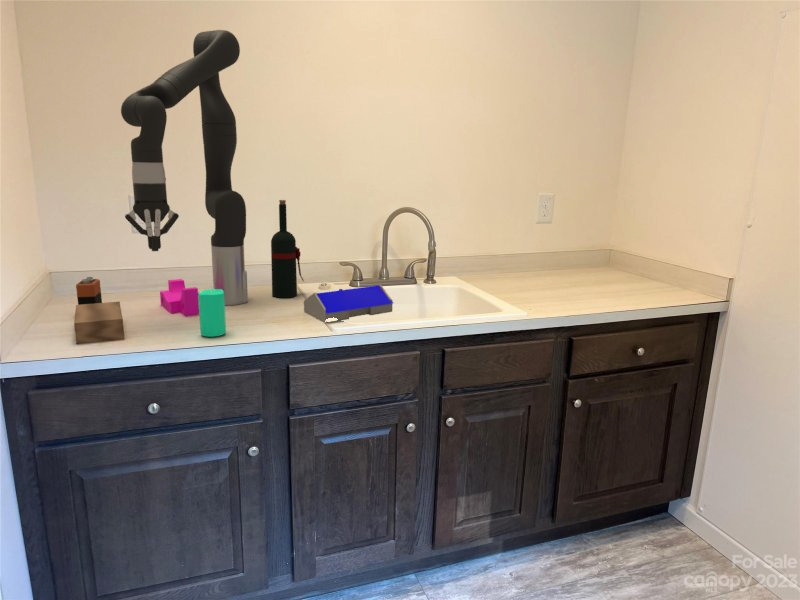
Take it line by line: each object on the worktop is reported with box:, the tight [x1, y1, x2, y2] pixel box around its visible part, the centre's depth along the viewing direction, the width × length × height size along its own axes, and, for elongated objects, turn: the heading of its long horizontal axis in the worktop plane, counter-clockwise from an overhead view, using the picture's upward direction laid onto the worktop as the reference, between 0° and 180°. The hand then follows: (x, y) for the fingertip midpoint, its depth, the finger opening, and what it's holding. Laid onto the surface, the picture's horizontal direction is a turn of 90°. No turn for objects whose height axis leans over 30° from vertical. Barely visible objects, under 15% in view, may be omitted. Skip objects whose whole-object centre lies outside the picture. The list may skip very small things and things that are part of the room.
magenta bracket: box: [159, 278, 200, 318], centre depth 163 cm, size 15×6×8 cm, turn 37°
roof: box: [303, 284, 394, 323], centre depth 166 cm, size 22×14×7 cm, turn 126°
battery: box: [75, 276, 103, 305], centre depth 157 cm, size 4×7×10 cm, turn 13°
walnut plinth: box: [73, 301, 125, 345], centre depth 143 cm, size 10×18×5 cm, turn 27°
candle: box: [198, 288, 227, 337], centre depth 143 cm, size 6×6×12 cm
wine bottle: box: [270, 199, 305, 300], centre depth 180 cm, size 8×10×30 cm
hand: (154, 250), depth 147 cm, fingers closed
